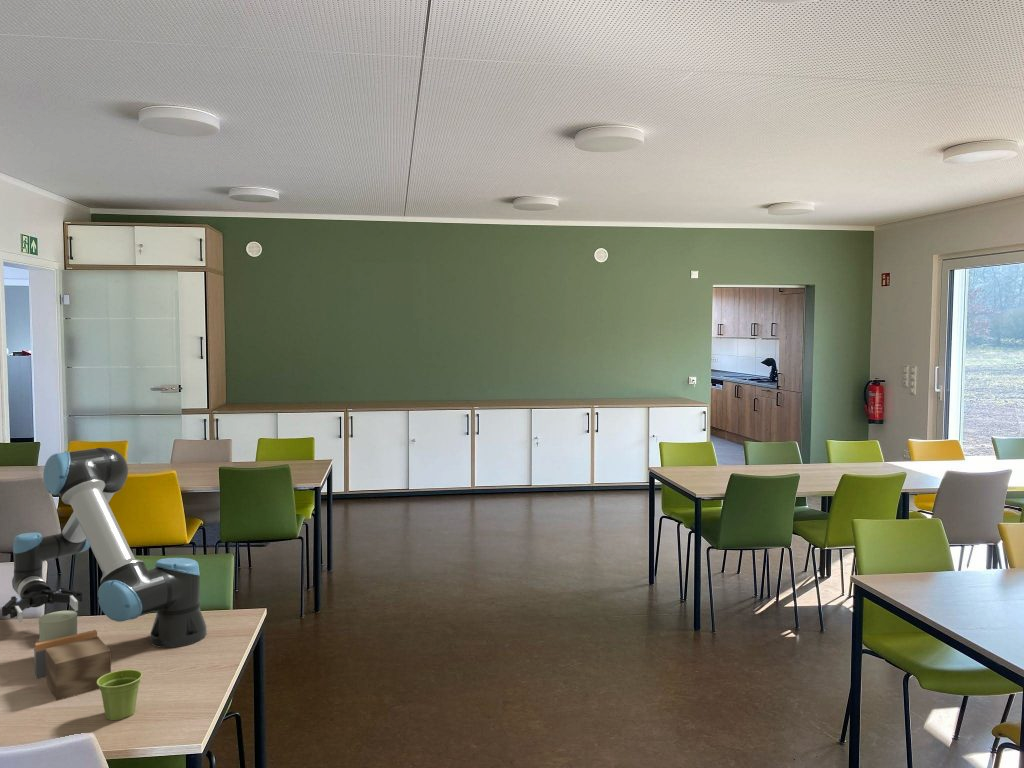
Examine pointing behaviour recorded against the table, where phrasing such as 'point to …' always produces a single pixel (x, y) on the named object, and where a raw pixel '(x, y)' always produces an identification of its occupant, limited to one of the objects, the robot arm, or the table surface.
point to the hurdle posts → (40, 663)
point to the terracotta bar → (65, 640)
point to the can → (57, 625)
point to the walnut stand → (76, 667)
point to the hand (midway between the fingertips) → (49, 611)
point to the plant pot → (119, 693)
